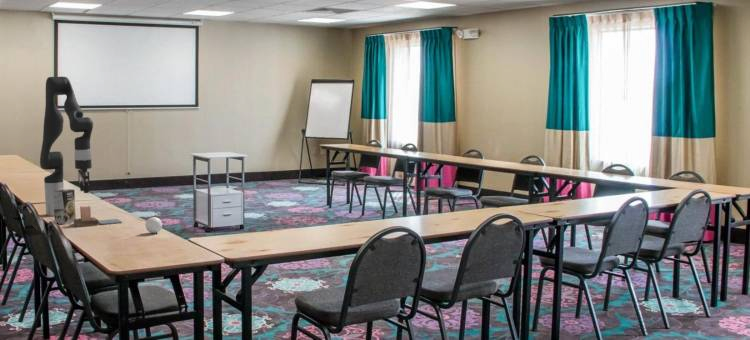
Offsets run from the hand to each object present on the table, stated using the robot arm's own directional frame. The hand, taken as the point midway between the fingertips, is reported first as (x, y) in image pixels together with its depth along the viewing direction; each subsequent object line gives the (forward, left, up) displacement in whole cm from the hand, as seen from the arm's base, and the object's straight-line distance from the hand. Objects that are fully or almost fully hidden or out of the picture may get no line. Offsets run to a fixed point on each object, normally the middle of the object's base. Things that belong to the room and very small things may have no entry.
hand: (84, 192), depth 387 cm
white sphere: (+40, +21, -16) cm, 48 cm away
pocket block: (0, 0, -16) cm, 16 cm away
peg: (0, 0, -16) cm, 16 cm away
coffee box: (-12, -7, -16) cm, 22 cm away
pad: (0, +11, -16) cm, 19 cm away
